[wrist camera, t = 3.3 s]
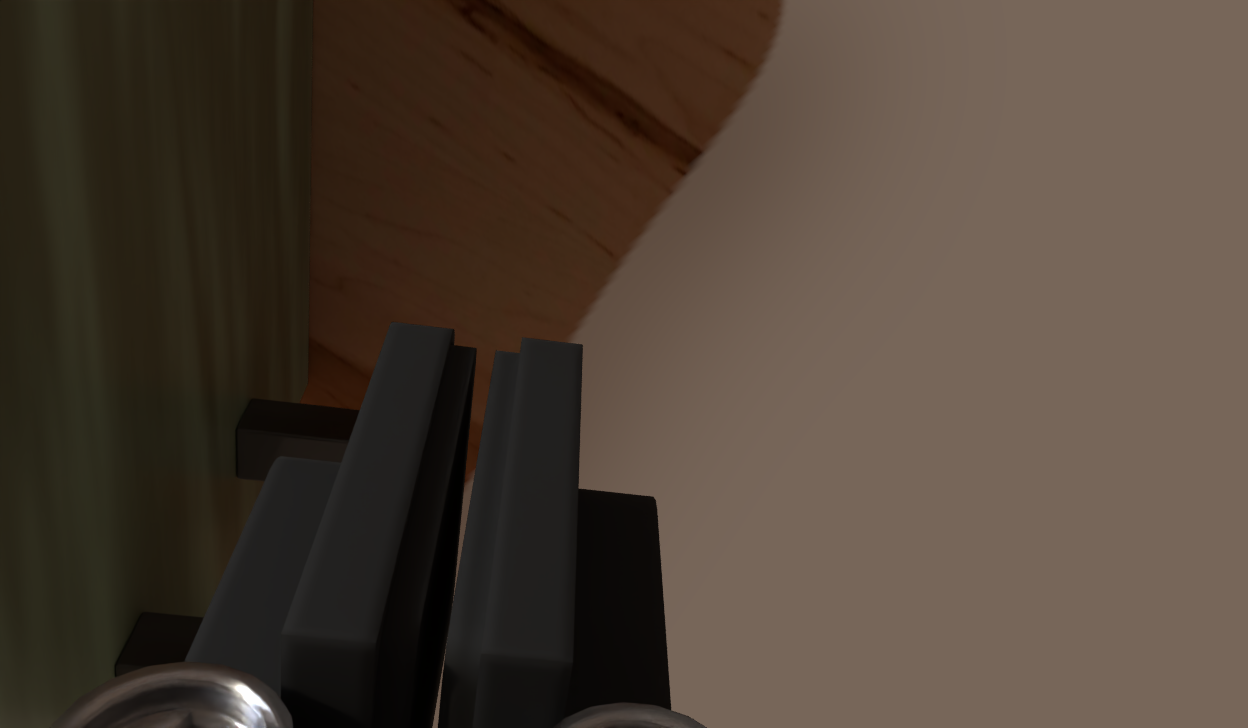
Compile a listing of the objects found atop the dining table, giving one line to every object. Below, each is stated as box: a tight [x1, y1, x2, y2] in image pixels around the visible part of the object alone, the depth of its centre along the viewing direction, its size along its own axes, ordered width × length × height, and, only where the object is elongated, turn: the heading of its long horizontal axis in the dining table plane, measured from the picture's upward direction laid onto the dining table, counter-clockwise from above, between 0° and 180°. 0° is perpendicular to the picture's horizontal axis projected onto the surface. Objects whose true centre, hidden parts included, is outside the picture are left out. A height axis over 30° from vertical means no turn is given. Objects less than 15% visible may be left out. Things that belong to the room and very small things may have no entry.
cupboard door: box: [0, 0, 360, 728], centre depth 22 cm, size 6×26×24 cm, turn 172°
